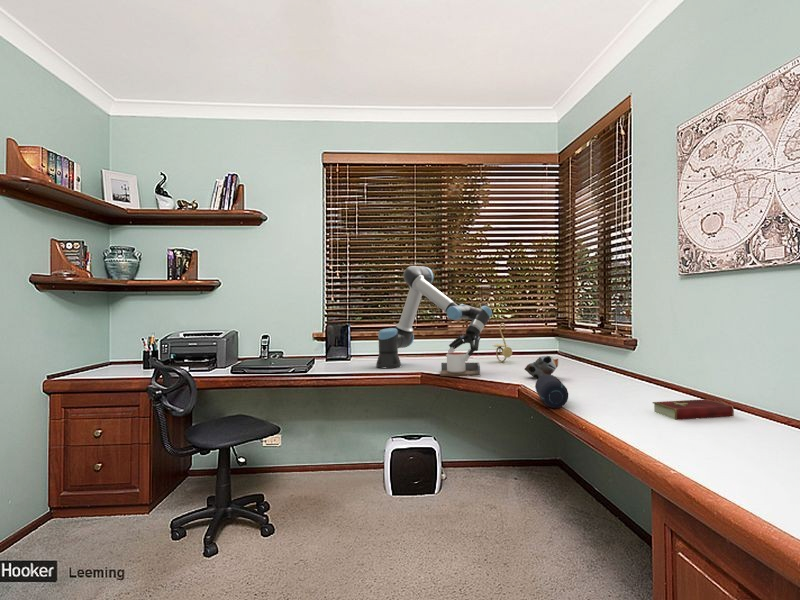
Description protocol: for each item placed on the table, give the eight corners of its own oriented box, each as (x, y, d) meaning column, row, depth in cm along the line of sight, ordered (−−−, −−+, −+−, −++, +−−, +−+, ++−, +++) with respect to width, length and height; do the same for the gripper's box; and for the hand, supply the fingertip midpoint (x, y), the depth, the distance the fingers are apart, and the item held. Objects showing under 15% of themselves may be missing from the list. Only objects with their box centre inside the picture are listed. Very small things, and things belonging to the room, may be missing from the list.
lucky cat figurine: (541, 374, 266) (553, 351, 263) (554, 386, 256) (567, 363, 253) (519, 368, 260) (532, 345, 256) (532, 380, 250) (545, 356, 246)
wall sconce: (514, 362, 316) (513, 323, 316) (501, 363, 313) (500, 323, 313) (502, 360, 329) (502, 322, 329) (490, 361, 326) (489, 322, 326)
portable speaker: (570, 410, 182) (570, 383, 182) (542, 410, 183) (541, 382, 183) (559, 397, 207) (558, 372, 207) (534, 396, 208) (533, 372, 208)
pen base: (441, 371, 284) (441, 369, 284) (479, 371, 281) (479, 369, 281) (440, 376, 269) (440, 373, 269) (480, 375, 266) (480, 373, 266)
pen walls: (441, 369, 284) (441, 362, 284) (479, 369, 281) (479, 362, 281) (440, 373, 269) (440, 366, 269) (480, 373, 266) (479, 366, 266)
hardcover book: (733, 417, 167) (733, 405, 167) (675, 421, 165) (675, 408, 165) (707, 410, 179) (707, 398, 179) (652, 413, 177) (652, 401, 177)
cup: (462, 370, 280) (461, 352, 280) (468, 372, 270) (467, 354, 270) (444, 371, 278) (444, 353, 278) (450, 373, 268) (449, 355, 268)
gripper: (494, 334, 274) (476, 365, 265) (462, 332, 294) (443, 361, 285) (488, 325, 271) (469, 355, 262) (455, 324, 291) (436, 352, 281)
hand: (456, 358), depth 273 cm, fingers open, 13 cm apart
